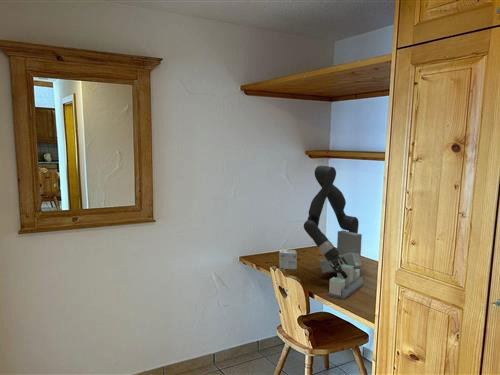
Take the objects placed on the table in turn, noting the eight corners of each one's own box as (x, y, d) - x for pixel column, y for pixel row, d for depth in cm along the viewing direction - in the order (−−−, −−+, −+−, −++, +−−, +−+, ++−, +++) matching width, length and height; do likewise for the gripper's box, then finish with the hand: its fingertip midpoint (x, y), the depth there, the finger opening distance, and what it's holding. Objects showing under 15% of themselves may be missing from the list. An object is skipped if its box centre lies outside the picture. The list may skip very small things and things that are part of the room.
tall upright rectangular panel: (360, 274, 237) (362, 234, 234) (354, 276, 233) (356, 235, 230) (341, 268, 248) (343, 230, 245) (335, 270, 244) (337, 231, 241)
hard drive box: (322, 273, 227) (354, 265, 218) (318, 260, 229) (351, 252, 220) (331, 273, 240) (362, 265, 231) (327, 260, 242) (358, 252, 233)
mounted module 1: (333, 289, 208) (333, 276, 207) (344, 292, 204) (345, 279, 203) (329, 292, 204) (329, 279, 203) (340, 295, 200) (341, 281, 199)
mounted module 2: (348, 279, 225) (348, 266, 224) (359, 281, 221) (359, 269, 220) (344, 281, 221) (345, 269, 220) (355, 284, 217) (356, 271, 216)
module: (340, 281, 216) (341, 263, 215) (352, 284, 212) (353, 265, 211) (336, 283, 212) (337, 265, 211) (349, 286, 208) (350, 268, 207)
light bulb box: (295, 266, 252) (295, 249, 250) (296, 269, 245) (297, 252, 244) (278, 266, 251) (279, 249, 250) (279, 269, 245) (280, 252, 243)
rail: (347, 281, 225) (347, 273, 225) (362, 284, 220) (362, 277, 219) (327, 295, 204) (328, 286, 204) (344, 299, 199) (344, 290, 198)
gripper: (327, 249, 208) (348, 276, 203) (338, 244, 220) (358, 269, 214) (318, 257, 212) (338, 283, 206) (329, 251, 224) (348, 276, 218)
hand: (348, 276), depth 210 cm, fingers closed on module, 5 cm apart
